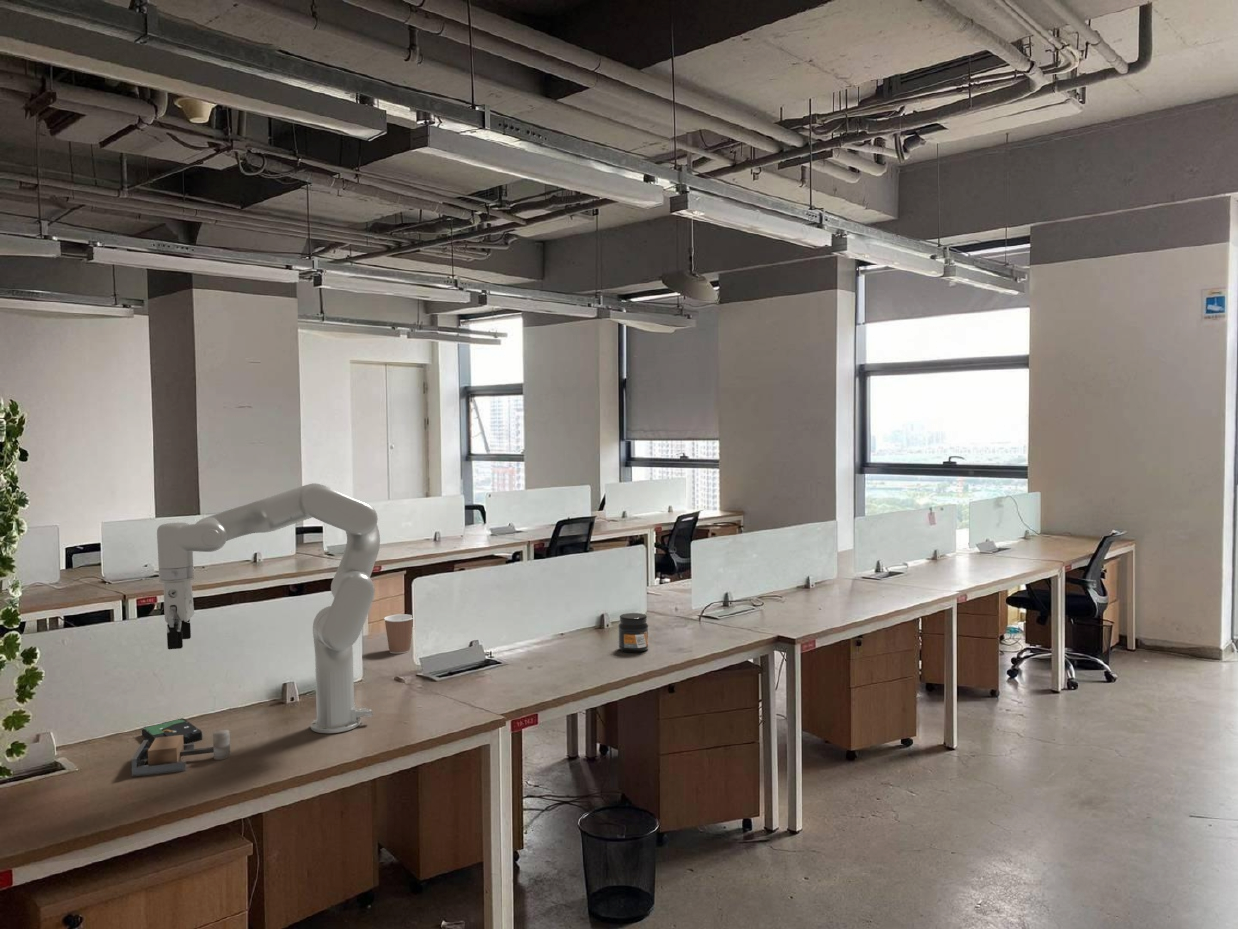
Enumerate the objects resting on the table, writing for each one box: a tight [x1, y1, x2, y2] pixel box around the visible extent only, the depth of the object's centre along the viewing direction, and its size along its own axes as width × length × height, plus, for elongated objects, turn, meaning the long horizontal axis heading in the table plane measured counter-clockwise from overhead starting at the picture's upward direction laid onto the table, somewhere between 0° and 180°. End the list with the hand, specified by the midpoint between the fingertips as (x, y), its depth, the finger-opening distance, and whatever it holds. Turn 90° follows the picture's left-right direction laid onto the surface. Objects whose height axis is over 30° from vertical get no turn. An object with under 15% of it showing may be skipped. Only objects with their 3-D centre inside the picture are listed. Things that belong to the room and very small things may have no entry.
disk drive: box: [141, 717, 203, 744], centre depth 225 cm, size 10×3×15 cm
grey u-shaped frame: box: [131, 739, 195, 778], centre depth 208 cm, size 11×13×4 cm
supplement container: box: [617, 612, 649, 654], centre depth 308 cm, size 10×10×12 cm
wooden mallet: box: [147, 729, 231, 765], centre depth 209 cm, size 17×9×6 cm, turn 108°
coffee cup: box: [383, 613, 414, 655], centre depth 309 cm, size 10×10×12 cm
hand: (179, 643), depth 214 cm, fingers open, 9 cm apart
